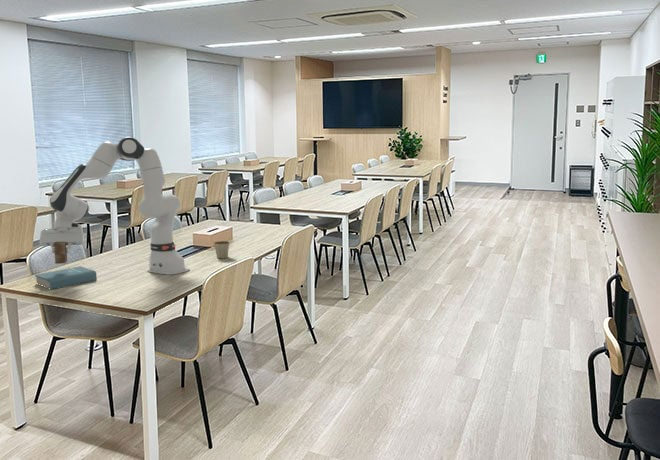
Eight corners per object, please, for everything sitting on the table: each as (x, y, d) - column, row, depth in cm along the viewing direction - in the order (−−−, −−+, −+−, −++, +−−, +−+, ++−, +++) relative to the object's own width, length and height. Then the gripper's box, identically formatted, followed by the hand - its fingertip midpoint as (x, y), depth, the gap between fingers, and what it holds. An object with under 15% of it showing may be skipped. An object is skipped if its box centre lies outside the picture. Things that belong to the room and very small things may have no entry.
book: (81, 275, 307) (80, 266, 306) (96, 281, 297) (96, 271, 296) (35, 284, 290) (34, 274, 289) (50, 290, 280) (49, 280, 279)
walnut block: (67, 261, 296) (66, 241, 294) (65, 263, 292) (63, 243, 290) (57, 261, 295) (56, 241, 294) (55, 263, 291) (53, 243, 289)
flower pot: (210, 258, 343) (209, 243, 341) (220, 254, 351) (220, 240, 350) (223, 259, 339) (223, 244, 337) (233, 256, 347) (233, 241, 345)
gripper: (39, 225, 295) (35, 249, 288) (83, 224, 299) (80, 247, 291) (43, 232, 300) (39, 256, 293) (86, 231, 304) (83, 254, 296)
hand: (60, 252), depth 292 cm, fingers closed on walnut block, 4 cm apart
